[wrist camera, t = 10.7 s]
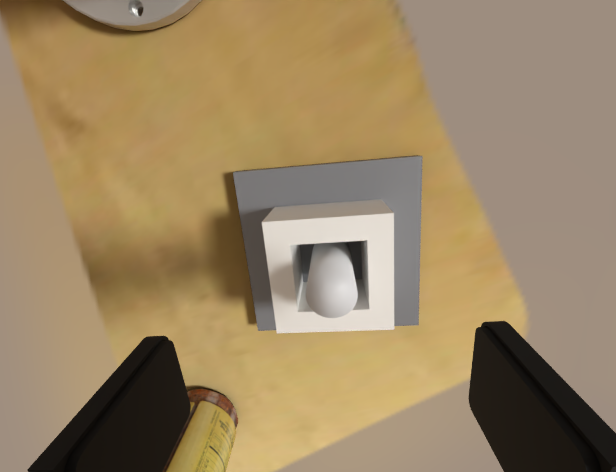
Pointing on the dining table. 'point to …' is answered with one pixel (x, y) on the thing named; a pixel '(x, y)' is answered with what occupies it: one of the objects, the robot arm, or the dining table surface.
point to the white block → (327, 229)
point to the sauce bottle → (205, 434)
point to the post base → (335, 190)
